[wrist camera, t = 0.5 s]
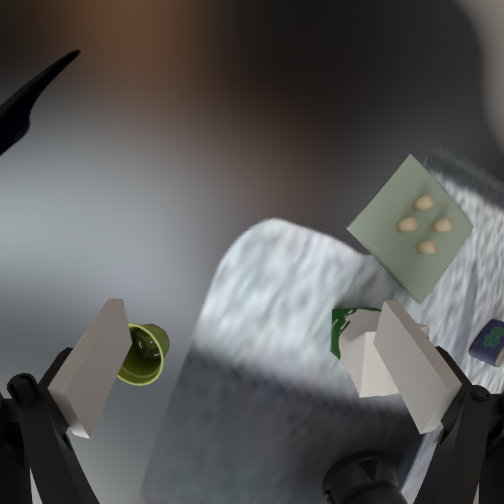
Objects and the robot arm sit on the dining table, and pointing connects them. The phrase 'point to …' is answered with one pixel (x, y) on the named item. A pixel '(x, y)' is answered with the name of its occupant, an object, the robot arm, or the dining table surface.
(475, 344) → the flask
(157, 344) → the plant pot
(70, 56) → the dining table surface
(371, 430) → the dining table surface
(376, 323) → the soya milk
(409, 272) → the peg stand
